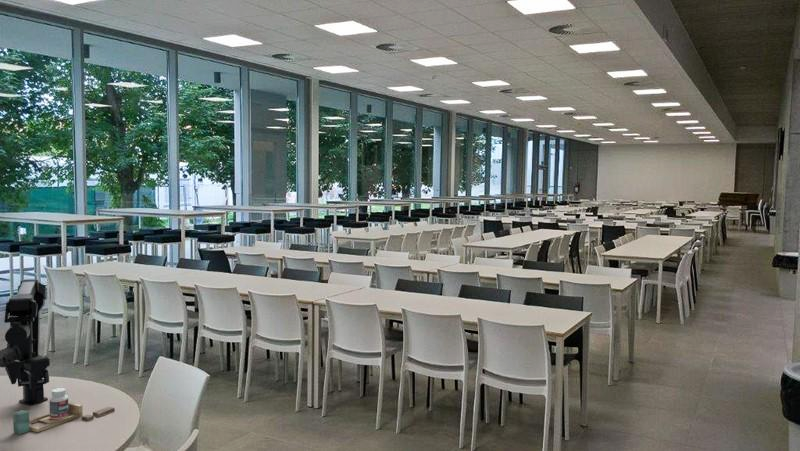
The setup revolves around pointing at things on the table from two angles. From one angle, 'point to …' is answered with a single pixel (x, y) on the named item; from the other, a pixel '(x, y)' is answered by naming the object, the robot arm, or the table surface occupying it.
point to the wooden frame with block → (43, 419)
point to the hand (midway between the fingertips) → (22, 386)
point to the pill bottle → (58, 404)
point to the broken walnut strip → (98, 413)
